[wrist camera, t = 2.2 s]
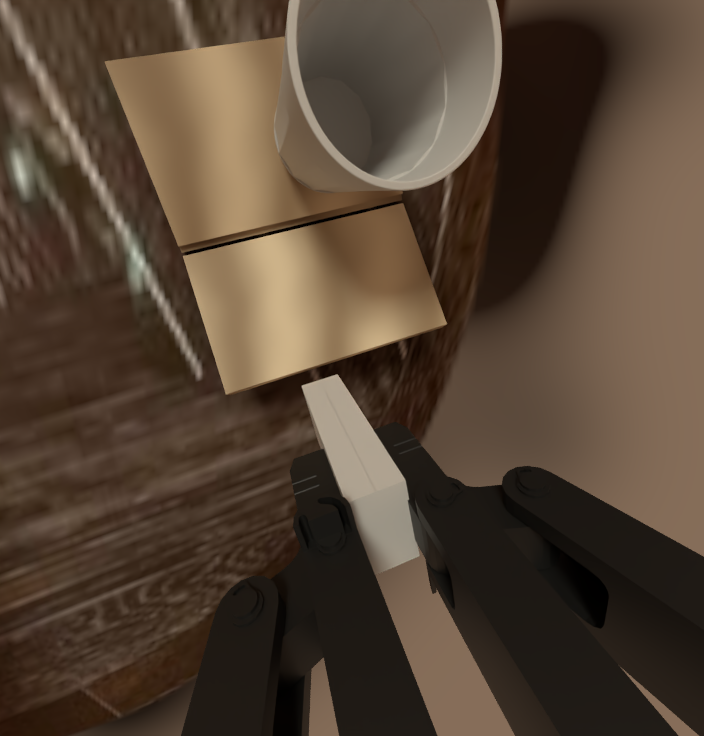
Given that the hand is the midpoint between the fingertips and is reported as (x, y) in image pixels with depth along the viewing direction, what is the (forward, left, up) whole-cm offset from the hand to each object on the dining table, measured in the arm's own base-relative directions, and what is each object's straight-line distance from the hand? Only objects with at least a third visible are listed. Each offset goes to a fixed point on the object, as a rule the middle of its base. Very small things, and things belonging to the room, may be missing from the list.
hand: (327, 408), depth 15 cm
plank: (+3, +2, -11) cm, 12 cm away
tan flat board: (+3, +11, -14) cm, 18 cm away
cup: (+6, +11, -14) cm, 18 cm away
